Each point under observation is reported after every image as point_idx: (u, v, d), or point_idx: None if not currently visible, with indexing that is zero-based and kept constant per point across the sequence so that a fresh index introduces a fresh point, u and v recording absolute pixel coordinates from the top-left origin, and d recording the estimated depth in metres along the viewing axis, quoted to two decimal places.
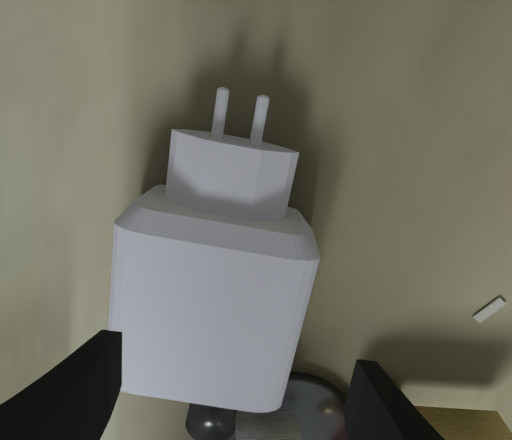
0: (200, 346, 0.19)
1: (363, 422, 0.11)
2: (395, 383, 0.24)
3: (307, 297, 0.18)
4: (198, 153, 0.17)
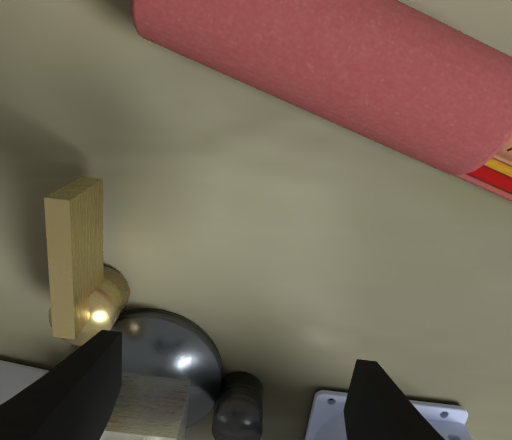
0: None
1: (363, 422, 0.11)
2: None
3: None
4: None
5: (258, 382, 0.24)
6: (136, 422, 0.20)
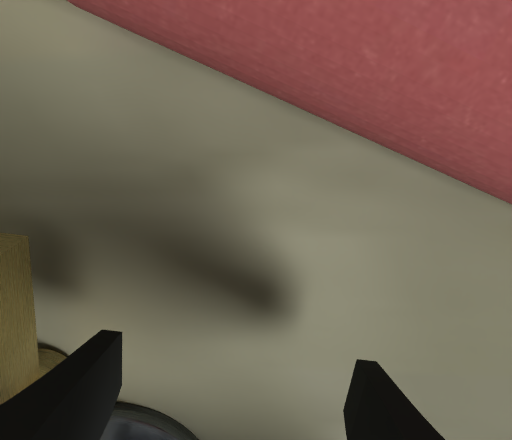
0: None
1: (363, 422, 0.11)
2: None
3: None
4: None
5: None
6: None
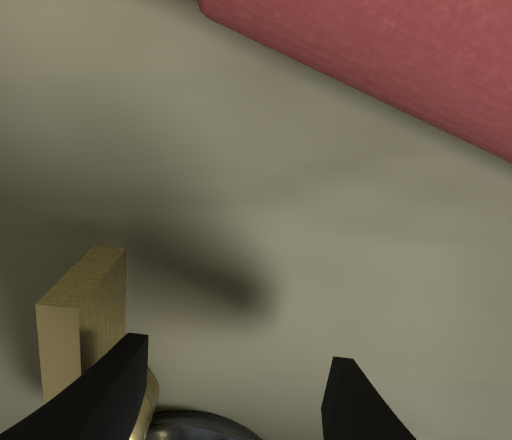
0: None
1: (337, 419, 0.11)
2: None
3: None
4: None
5: None
6: None
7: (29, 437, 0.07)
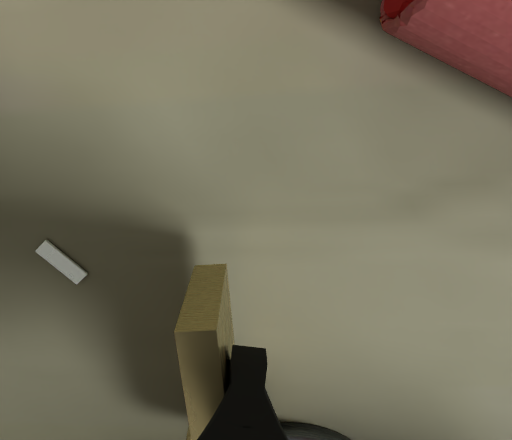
0: None
1: None
2: None
3: None
4: None
5: None
6: None
7: None
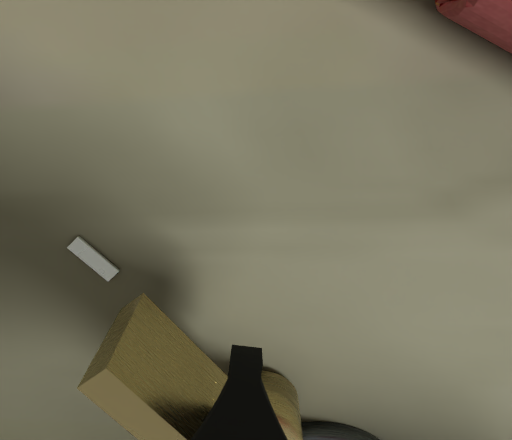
0: None
1: None
2: None
3: None
4: None
5: None
6: None
7: None
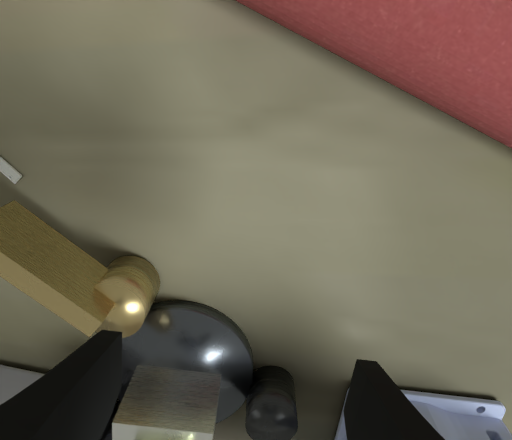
0: None
1: (363, 422, 0.11)
2: None
3: None
4: None
5: (290, 376, 0.24)
6: (170, 417, 0.20)
7: None
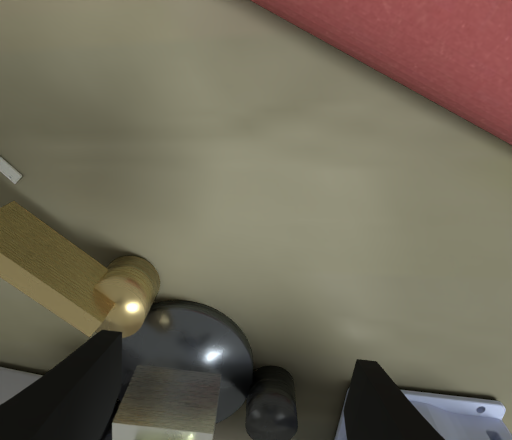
0: None
1: (363, 422, 0.11)
2: None
3: None
4: None
5: (290, 376, 0.24)
6: (170, 417, 0.20)
7: None
